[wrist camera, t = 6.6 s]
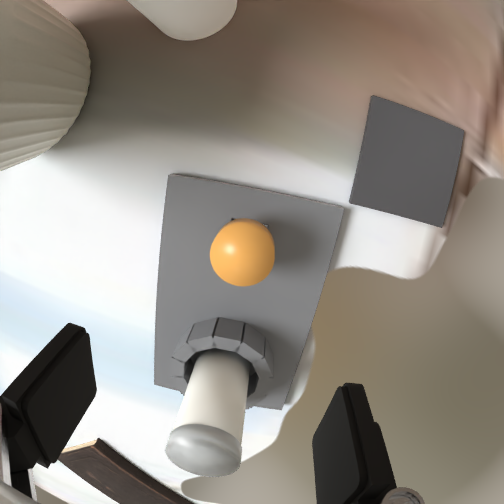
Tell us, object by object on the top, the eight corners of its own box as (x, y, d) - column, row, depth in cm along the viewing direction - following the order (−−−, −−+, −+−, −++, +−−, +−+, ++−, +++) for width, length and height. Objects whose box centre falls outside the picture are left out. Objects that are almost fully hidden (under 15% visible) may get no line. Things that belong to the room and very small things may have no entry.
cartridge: (256, 342, 29) (246, 446, 17) (246, 382, 30) (234, 481, 19) (200, 330, 29) (165, 429, 17) (195, 371, 30) (165, 467, 19)
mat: (460, 130, 22) (464, 130, 21) (438, 226, 25) (441, 227, 24) (371, 96, 22) (373, 95, 21) (348, 202, 25) (350, 203, 24)
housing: (341, 206, 25) (353, 217, 21) (281, 403, 32) (281, 430, 29) (172, 173, 25) (155, 179, 21) (156, 378, 32) (145, 402, 29)
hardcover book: (144, 508, 48) (141, 516, 46) (58, 447, 43) (53, 455, 40) (197, 503, 44) (195, 513, 42) (99, 435, 39) (94, 445, 37)
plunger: (279, 217, 25) (280, 232, 21) (268, 268, 27) (267, 291, 22) (224, 206, 25) (214, 219, 21) (216, 258, 27) (205, 279, 22)
